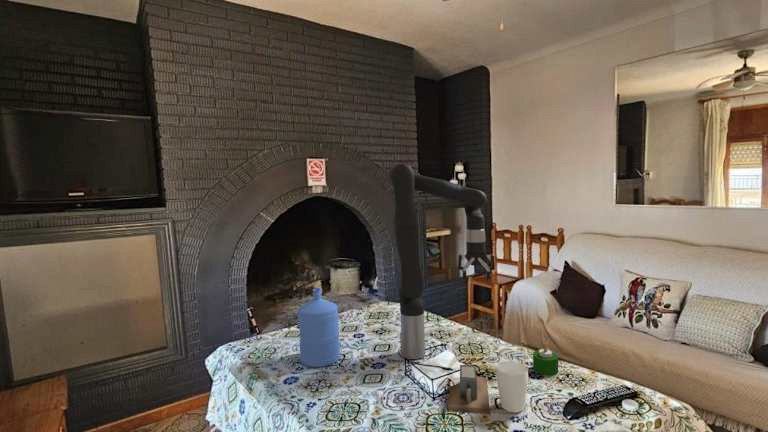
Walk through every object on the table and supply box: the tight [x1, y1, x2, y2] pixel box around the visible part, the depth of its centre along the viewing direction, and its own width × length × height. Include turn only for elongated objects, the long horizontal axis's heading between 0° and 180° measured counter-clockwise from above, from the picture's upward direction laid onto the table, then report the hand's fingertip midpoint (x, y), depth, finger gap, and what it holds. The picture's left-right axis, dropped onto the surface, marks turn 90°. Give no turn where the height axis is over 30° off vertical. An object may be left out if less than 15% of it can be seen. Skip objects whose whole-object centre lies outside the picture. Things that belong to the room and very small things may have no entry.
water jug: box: [297, 287, 341, 368], centre depth 151 cm, size 16×16×28 cm
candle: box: [532, 342, 559, 377], centre depth 137 cm, size 8×8×10 cm
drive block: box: [459, 364, 478, 400], centre depth 123 cm, size 5×10×6 cm, turn 169°
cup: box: [496, 360, 529, 414], centre depth 115 cm, size 9×9×12 cm
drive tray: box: [447, 376, 491, 414], centre depth 123 cm, size 12×19×5 cm, turn 168°
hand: (476, 280), depth 155 cm, fingers open, 8 cm apart
